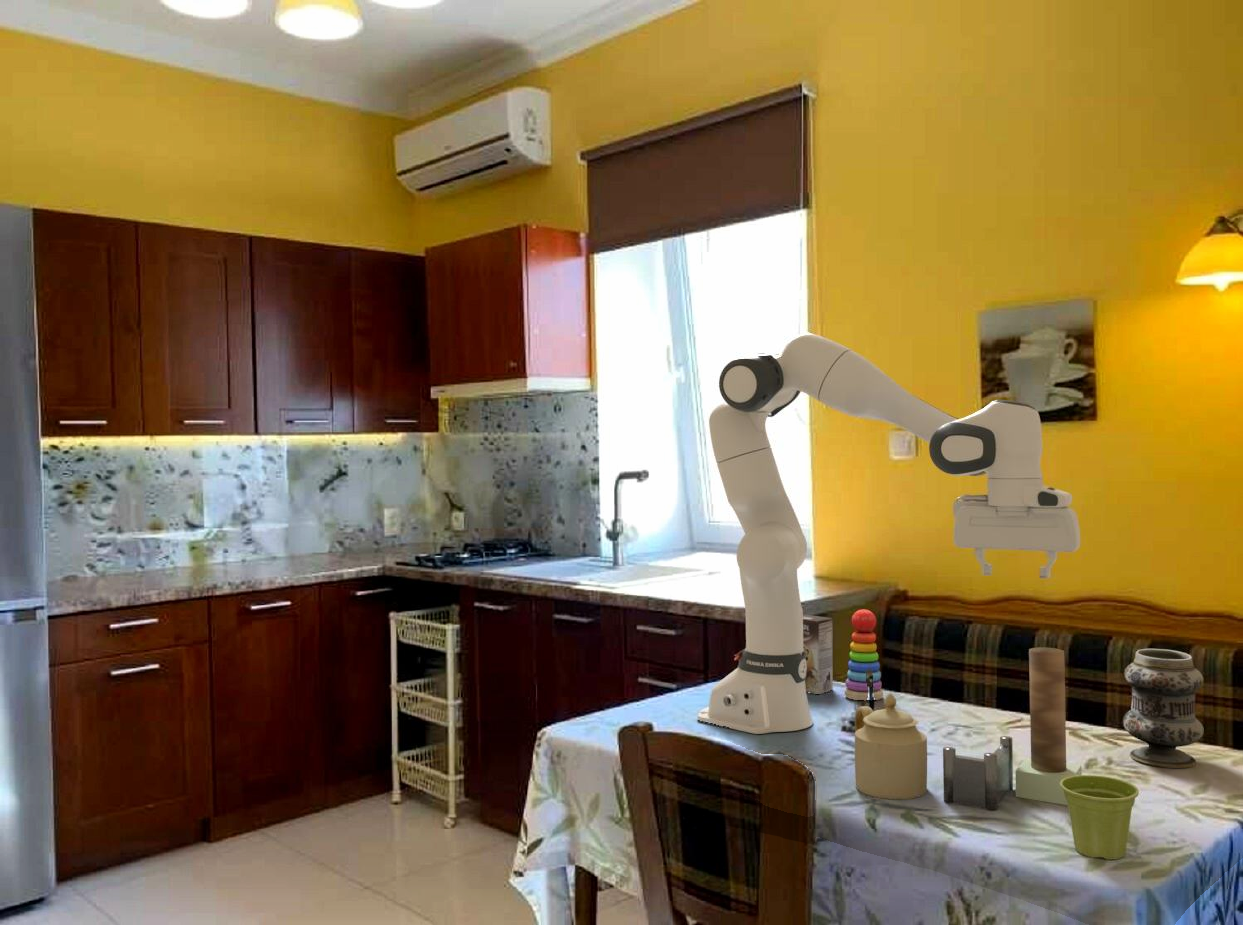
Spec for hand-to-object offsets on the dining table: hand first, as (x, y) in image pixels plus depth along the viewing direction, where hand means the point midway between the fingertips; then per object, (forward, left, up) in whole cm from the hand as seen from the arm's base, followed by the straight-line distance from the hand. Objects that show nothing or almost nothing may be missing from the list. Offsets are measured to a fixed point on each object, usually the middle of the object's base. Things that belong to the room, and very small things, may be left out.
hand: (1015, 576), depth 175 cm
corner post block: (-1, -22, -31) cm, 38 cm away
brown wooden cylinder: (+8, -16, -27) cm, 32 cm away
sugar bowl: (-15, -25, -31) cm, 43 cm away
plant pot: (+18, -36, -31) cm, 51 cm away
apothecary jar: (+21, +11, -31) cm, 39 cm away
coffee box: (-50, +28, -31) cm, 65 cm away
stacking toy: (-37, +27, -31) cm, 55 cm away
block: (+8, -16, -31) cm, 36 cm away
